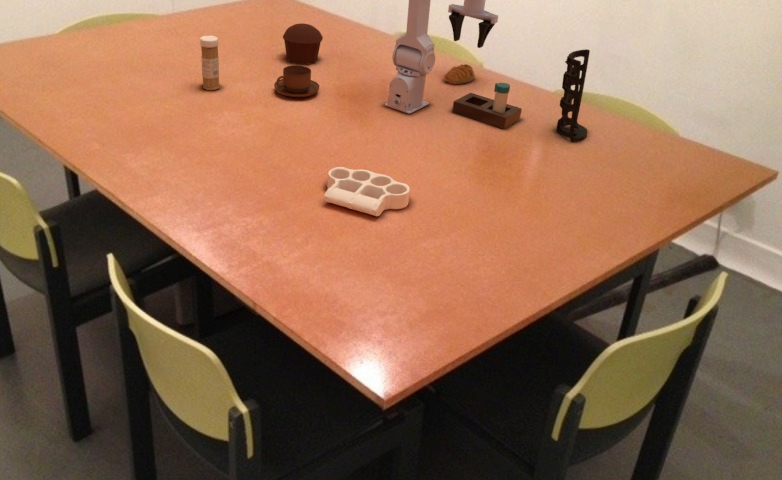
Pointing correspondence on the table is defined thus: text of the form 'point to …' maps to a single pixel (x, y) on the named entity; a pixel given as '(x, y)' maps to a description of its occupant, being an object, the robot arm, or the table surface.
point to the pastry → (460, 74)
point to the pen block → (485, 110)
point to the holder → (573, 96)
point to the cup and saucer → (296, 82)
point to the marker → (501, 97)
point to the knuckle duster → (365, 191)
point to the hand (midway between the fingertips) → (468, 43)
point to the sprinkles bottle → (210, 62)
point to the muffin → (302, 43)
